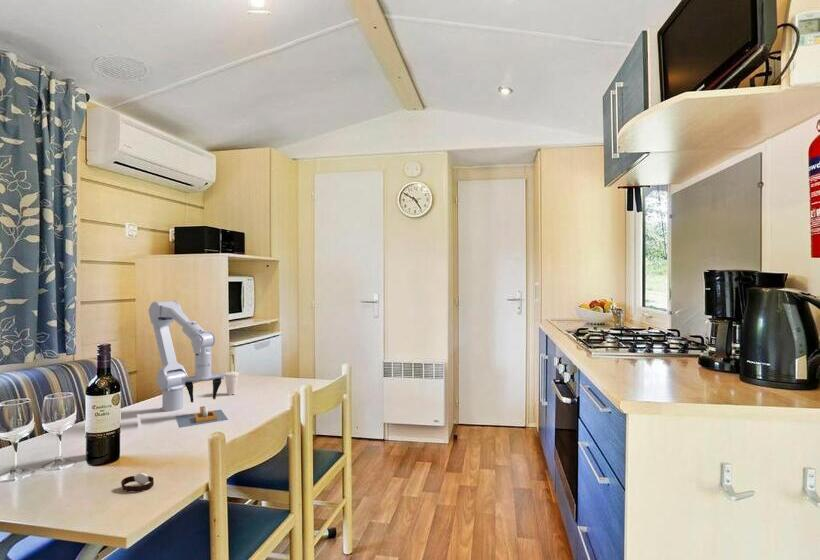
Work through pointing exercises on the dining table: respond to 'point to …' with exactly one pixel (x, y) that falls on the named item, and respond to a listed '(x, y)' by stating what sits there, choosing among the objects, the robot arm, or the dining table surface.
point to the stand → (189, 421)
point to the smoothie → (231, 381)
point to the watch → (140, 479)
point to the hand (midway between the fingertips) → (203, 400)
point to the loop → (200, 418)
